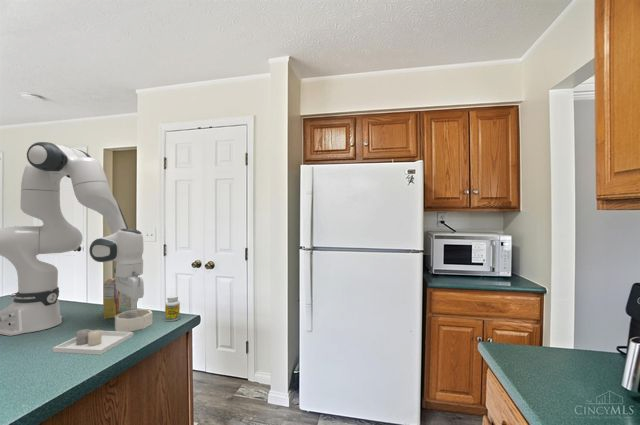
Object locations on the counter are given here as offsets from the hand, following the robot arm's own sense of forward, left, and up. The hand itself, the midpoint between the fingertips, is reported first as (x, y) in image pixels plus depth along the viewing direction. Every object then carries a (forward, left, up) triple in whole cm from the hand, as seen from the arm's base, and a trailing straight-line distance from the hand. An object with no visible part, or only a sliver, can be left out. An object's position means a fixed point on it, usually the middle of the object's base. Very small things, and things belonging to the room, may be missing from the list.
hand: (128, 305), depth 113 cm
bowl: (+2, +1, -8) cm, 9 cm away
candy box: (-17, +12, -9) cm, 23 cm away
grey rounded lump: (0, +1, -8) cm, 8 cm away
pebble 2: (0, -16, -8) cm, 18 cm away
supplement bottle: (+12, +10, -9) cm, 18 cm away
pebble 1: (-4, -16, -8) cm, 18 cm away
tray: (+1, -16, -8) cm, 18 cm away
